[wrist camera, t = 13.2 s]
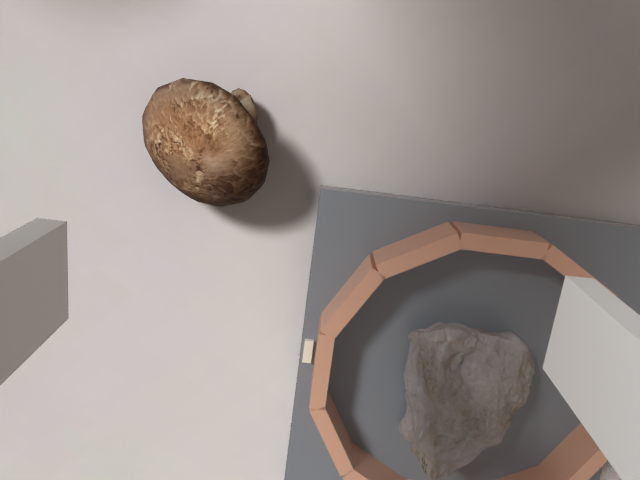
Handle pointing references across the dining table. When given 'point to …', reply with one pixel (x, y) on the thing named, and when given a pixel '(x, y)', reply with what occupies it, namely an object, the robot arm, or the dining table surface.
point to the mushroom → (206, 141)
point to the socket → (429, 308)
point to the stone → (461, 393)
